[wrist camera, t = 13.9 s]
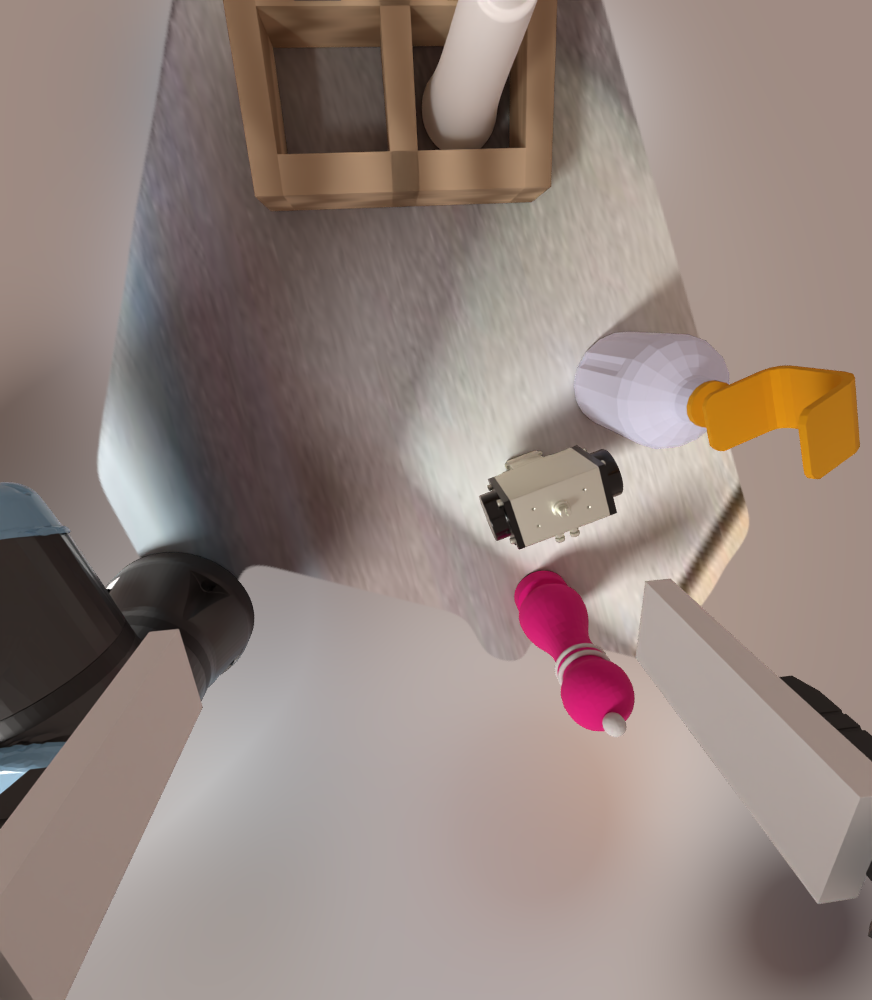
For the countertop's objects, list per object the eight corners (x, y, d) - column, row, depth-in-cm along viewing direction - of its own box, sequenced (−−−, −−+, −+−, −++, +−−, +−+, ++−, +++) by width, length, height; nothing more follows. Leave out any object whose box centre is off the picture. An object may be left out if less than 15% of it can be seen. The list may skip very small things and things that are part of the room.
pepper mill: (577, 603, 56) (673, 745, 37) (522, 628, 56) (589, 780, 38) (558, 556, 53) (651, 683, 35) (500, 582, 54) (561, 721, 35)
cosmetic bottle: (410, 136, 38) (439, -79, 17) (436, 48, 36) (503, -312, 15) (479, 169, 39) (581, 5, 19) (507, 85, 37) (656, -200, 17)
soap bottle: (560, 356, 45) (738, 393, 22) (648, 315, 45) (924, 311, 22) (586, 438, 48) (764, 544, 26) (669, 401, 48) (926, 476, 25)
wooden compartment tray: (270, 211, 39) (254, 195, 34) (238, 3, 34) (213, -51, 29) (531, 201, 40) (552, 185, 35) (536, 2, 35) (560, -49, 31)
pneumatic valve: (465, 469, 48) (489, 514, 37) (572, 428, 48) (628, 461, 37) (481, 514, 50) (509, 570, 39) (584, 476, 50) (641, 521, 39)
